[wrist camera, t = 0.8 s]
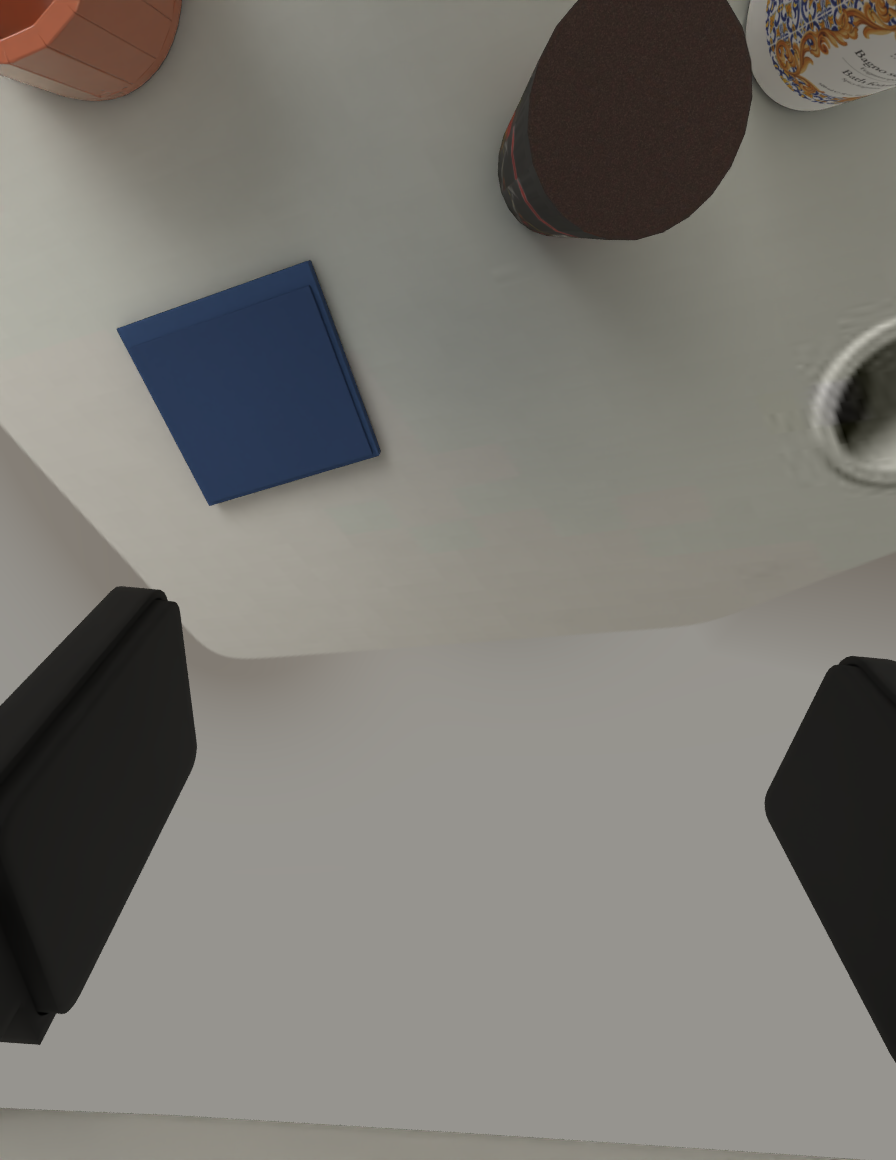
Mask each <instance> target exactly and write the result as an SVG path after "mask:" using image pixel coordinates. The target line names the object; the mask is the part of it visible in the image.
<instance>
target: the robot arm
mask: <svg viewBox="0 0 896 1160" xmlns="http://www.w3.org/2000/svg"><path fill="white" fill-rule="evenodd" d="M196 750H197V743H196V734H195V727H194V719H193V711H192V703H191V695H190V688H189V679H188V671H187V664H186V656H185V649H184V640H183V632H182V624H181V616H180V610H179V606H178V605H177V603H176V602H172V601H168V600H167V597H166V595H165V593H164V592H163V591H161V590H155V589H145V588H134V587H123V586H120V587H116V588H115V589H113V590H112V591H111V592H110V593H109V594H108V595H107V596H106V597H105V598H104V599H103V600H102V601H101V602H100V603H99V604H98V605H97V606H96V607H95V608H94V609H93V610H92V612H91V613H90V614H89V615H88V616H87V617H86V618H85V619H84V620H83V621H82V622H81V623H80V624H79V625H78V626H77V627H76V628H75V629H74V630H73V631H72V632H71V633H70V634H69V635H68V636H67V637H66V638H65V640H64V641H63V642H62V643H61V644H60V645H59V646H58V647H57V648H56V649H55V650H54V651H53V652H52V653H51V654H50V655H49V656H48V657H47V658H46V659H45V660H44V661H43V662H42V663H41V664H40V665H39V666H38V667H37V668H36V670H35V671H34V672H33V673H32V674H31V675H30V676H29V677H28V678H27V679H26V680H25V681H24V682H23V683H22V684H21V685H20V686H19V687H18V688H17V689H16V690H15V691H14V692H13V694H11V696H9V698H8V699H7V700H6V701H5V702H4V703H3V704H2V705H1V706H0V1042H9V1043H24V1044H38V1045H40V1044H41V1042H42V1040H43V1038H44V1036H45V1034H46V1032H47V1030H48V1028H49V1026H50V1024H51V1022H52V1020H53V1019H54V1017H55V1014H56V1013H58V1014H59V1013H60V1014H65V1013H66V1012H68V1011H69V1010H70V1009H71V1008H72V1007H73V1005H74V1004H75V1003H76V1001H77V999H78V997H79V996H80V994H81V992H82V990H83V988H84V986H85V984H86V982H87V980H88V978H89V975H90V974H91V972H92V970H93V968H94V966H95V963H96V961H97V959H98V958H99V955H100V953H101V951H102V949H103V947H104V945H105V943H106V941H107V939H108V937H109V935H110V933H111V931H112V929H113V927H114V925H115V923H116V921H117V919H118V917H119V915H120V913H121V911H122V909H123V907H124V905H125V903H126V901H127V899H128V897H129V895H130V893H131V891H132V889H133V887H134V885H135V883H136V881H137V879H138V877H139V875H140V873H141V871H142V869H143V867H144V865H145V863H146V861H147V859H148V857H149V855H150V853H151V851H152V849H153V846H154V845H155V843H156V841H157V839H158V837H159V834H160V833H161V830H162V829H163V827H164V825H165V823H166V821H167V819H168V817H169V815H170V813H171V811H172V809H173V807H174V804H175V803H176V801H177V799H178V797H179V795H180V792H181V790H182V789H183V786H184V784H185V782H186V780H187V778H188V776H189V774H190V772H191V770H192V768H193V765H194V761H195V757H196ZM765 811H766V816H767V818H768V820H769V822H770V824H771V826H772V828H773V830H774V832H775V834H776V836H777V838H778V840H779V841H780V844H781V845H782V847H783V849H784V851H785V853H786V855H787V857H788V859H789V861H790V863H791V865H792V867H793V869H794V870H795V872H796V874H797V876H798V878H799V880H800V882H801V884H802V886H803V888H804V890H805V892H806V893H807V895H808V897H809V899H810V901H811V903H812V905H813V907H814V909H815V911H816V913H817V915H818V916H819V918H820V920H821V922H822V924H823V926H824V928H825V930H826V932H827V934H828V936H829V937H830V939H831V941H832V943H833V945H834V947H835V949H836V951H837V953H838V955H839V957H840V958H841V961H842V962H843V964H844V966H845V968H846V970H847V972H848V974H849V976H850V978H851V980H852V981H853V983H854V985H855V987H856V989H857V991H858V993H859V995H860V997H861V999H862V1001H863V1003H864V1005H865V1007H866V1008H867V1010H868V1012H869V1014H870V1016H871V1018H872V1020H873V1022H874V1024H875V1026H876V1028H877V1030H878V1031H879V1033H880V1035H881V1037H882V1039H883V1041H884V1043H885V1045H886V1047H887V1049H888V1051H889V1053H890V1054H891V1056H892V1058H893V1059H894V1061H895V1062H896V661H892V660H888V659H877V658H868V657H856V656H850V657H846V658H845V659H843V660H842V661H841V662H840V663H839V665H834V666H832V667H831V668H830V669H829V670H828V672H827V673H826V675H825V677H824V679H823V681H822V683H821V685H820V687H819V689H818V691H817V693H816V695H815V697H814V699H813V701H812V703H811V705H810V707H809V709H808V711H807V713H806V715H805V717H804V719H803V721H802V723H801V725H800V727H799V729H798V731H797V733H796V735H795V737H794V739H793V741H792V743H791V745H790V747H789V749H788V751H787V753H786V755H785V757H784V759H783V761H782V763H781V765H780V767H779V769H778V771H777V773H776V775H775V777H774V779H773V781H772V783H771V785H770V787H769V789H768V791H767V794H766V797H765ZM0 1160H858V1159H845V1158H831V1157H817V1156H803V1155H787V1154H773V1153H758V1152H743V1151H728V1150H714V1149H699V1148H684V1147H669V1146H653V1145H639V1144H625V1143H608V1142H594V1141H578V1140H564V1139H549V1138H533V1137H518V1136H502V1135H487V1134H473V1133H457V1132H441V1131H424V1130H407V1129H392V1128H374V1127H359V1126H342V1125H325V1124H309V1123H294V1122H276V1121H260V1120H243V1119H228V1118H211V1117H194V1116H178V1115H157V1114H133V1113H107V1112H84V1111H83V1112H82V1111H60V1110H59V1111H58V1110H35V1109H10V1108H0Z"/></svg>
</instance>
